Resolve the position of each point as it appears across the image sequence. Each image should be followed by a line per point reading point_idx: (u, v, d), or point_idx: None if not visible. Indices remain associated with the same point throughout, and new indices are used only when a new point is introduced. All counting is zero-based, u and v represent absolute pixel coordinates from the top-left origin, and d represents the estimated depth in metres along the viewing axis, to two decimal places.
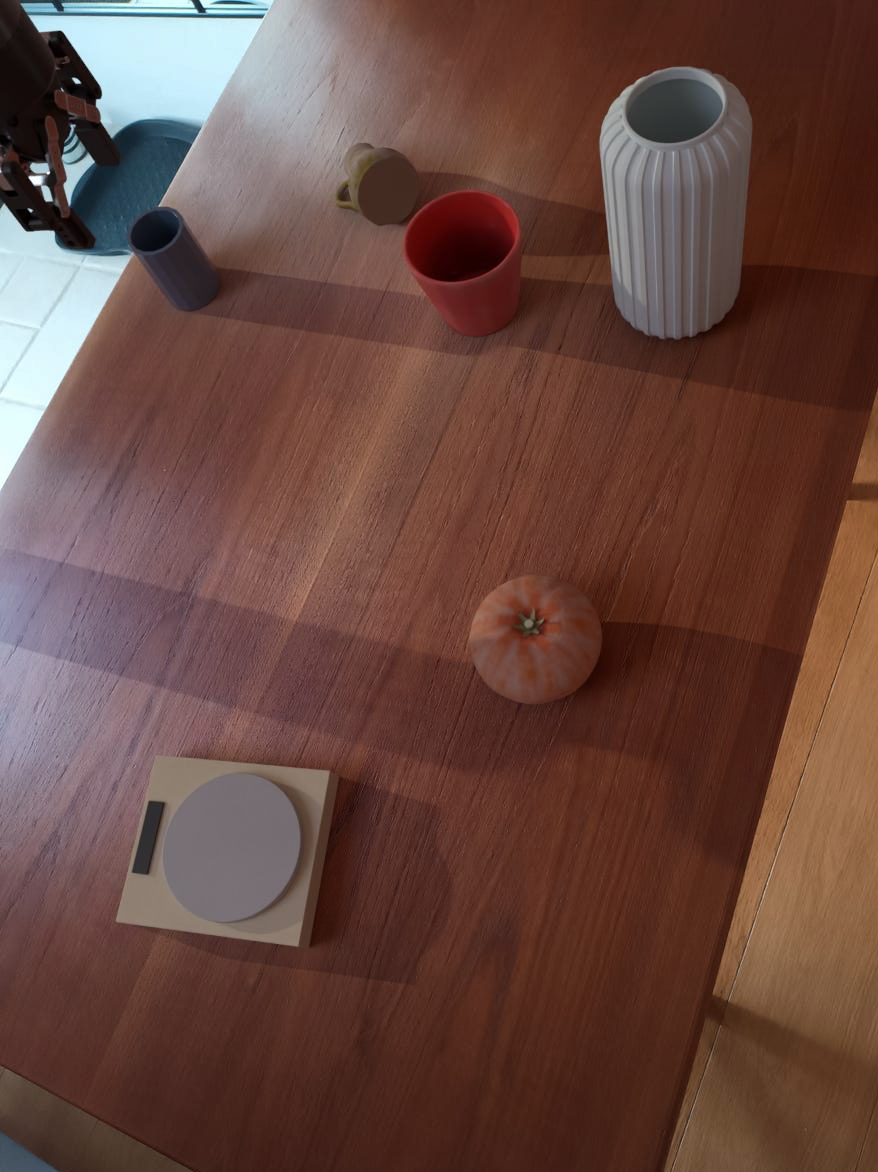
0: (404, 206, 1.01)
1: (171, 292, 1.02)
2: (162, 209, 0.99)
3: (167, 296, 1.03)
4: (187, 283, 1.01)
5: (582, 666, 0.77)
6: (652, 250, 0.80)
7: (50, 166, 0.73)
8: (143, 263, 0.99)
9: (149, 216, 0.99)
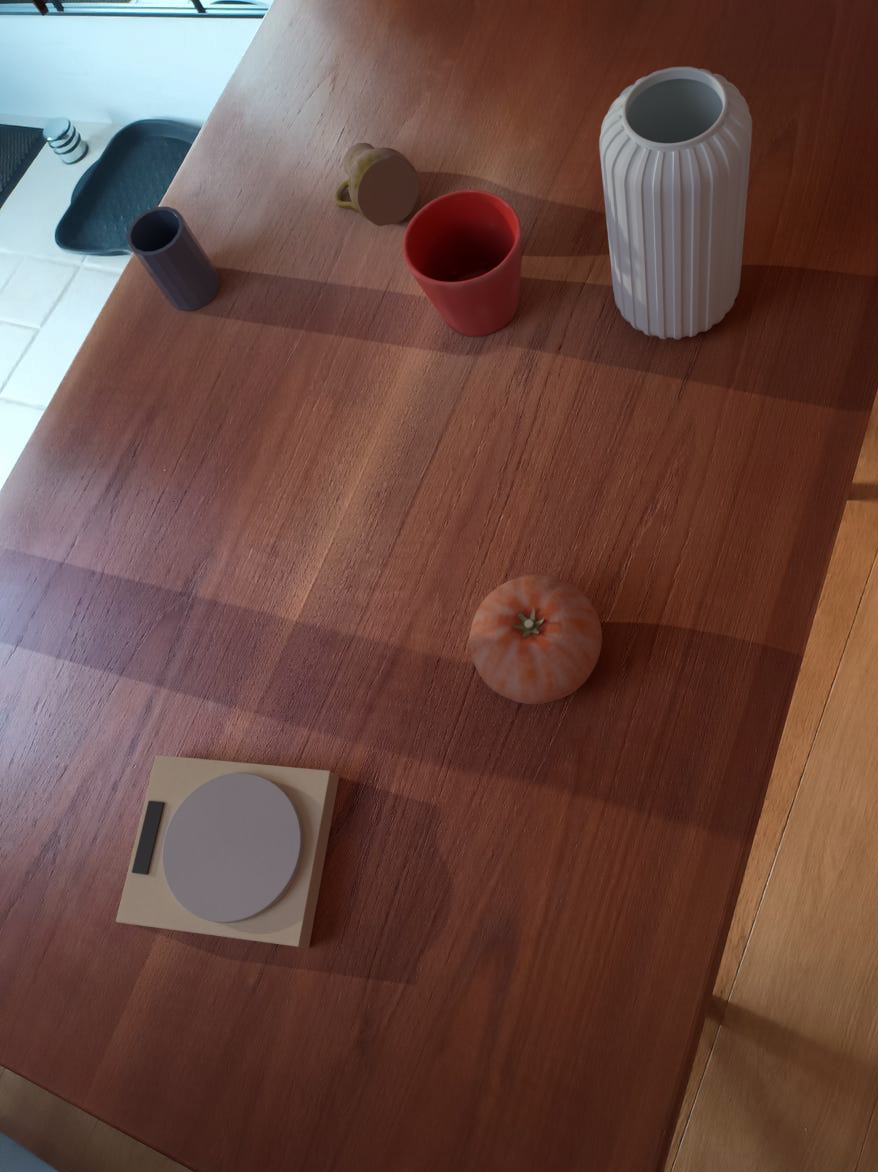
0: (404, 206, 1.01)
1: (171, 292, 1.02)
2: (162, 209, 0.99)
3: (167, 296, 1.03)
4: (187, 283, 1.01)
5: (582, 666, 0.77)
6: (652, 250, 0.80)
7: None
8: (143, 263, 0.99)
9: (149, 216, 0.99)
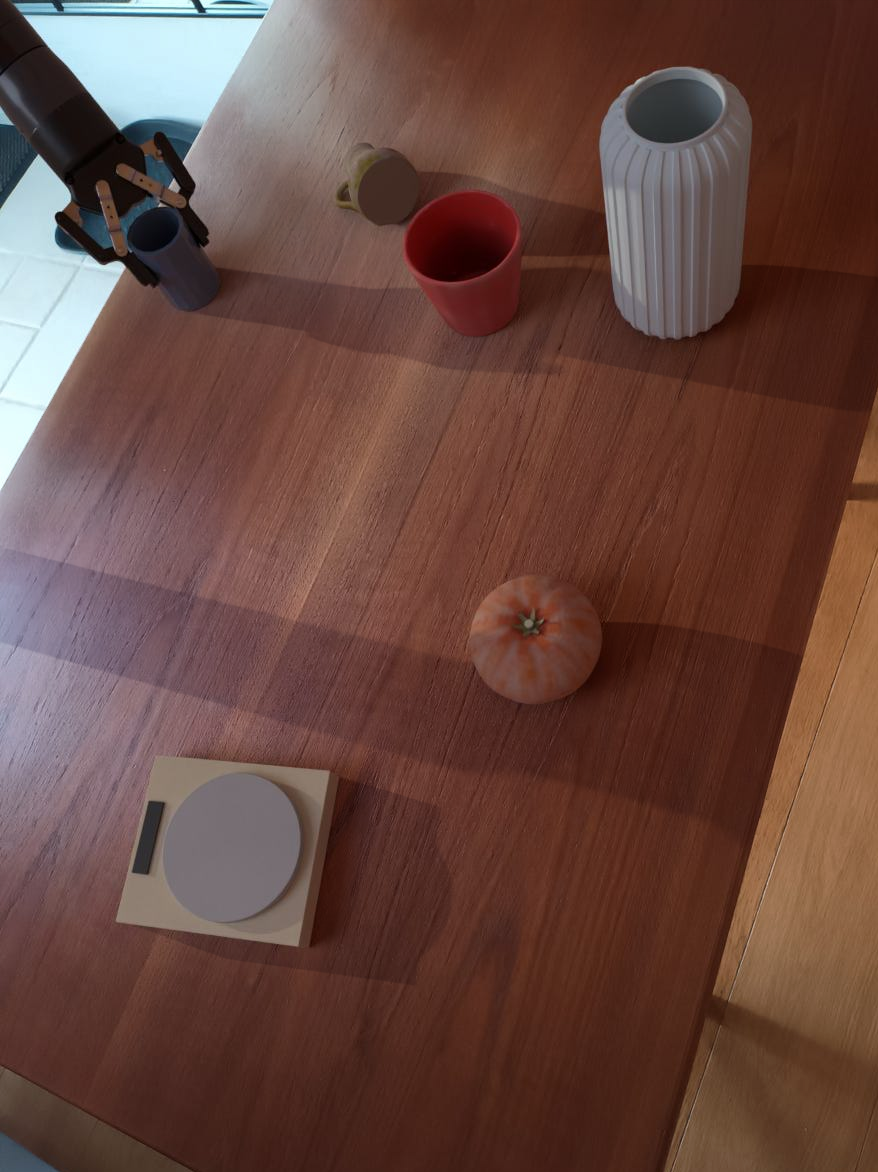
0: (404, 206, 1.01)
1: (171, 292, 1.02)
2: (162, 209, 0.99)
3: (167, 296, 1.03)
4: (187, 283, 1.01)
5: (582, 666, 0.77)
6: (652, 250, 0.80)
7: (151, 185, 0.99)
8: (143, 263, 0.99)
9: (149, 216, 0.99)
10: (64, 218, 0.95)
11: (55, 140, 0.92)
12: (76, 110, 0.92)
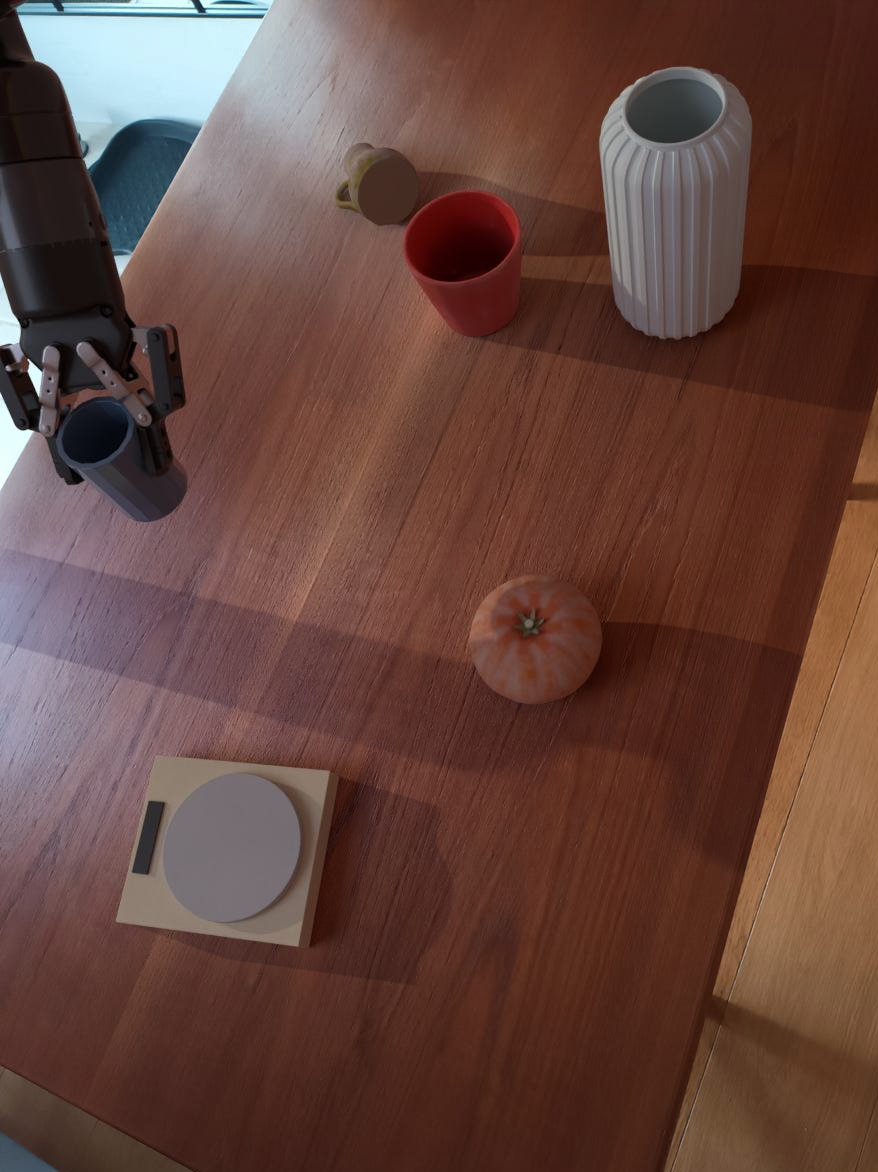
0: (404, 206, 1.01)
1: None
2: (124, 409, 0.71)
3: None
4: (115, 500, 0.75)
5: (582, 666, 0.77)
6: (652, 250, 0.80)
7: (137, 370, 0.72)
8: None
9: (111, 404, 0.72)
10: None
11: (8, 280, 0.65)
12: (46, 262, 0.64)
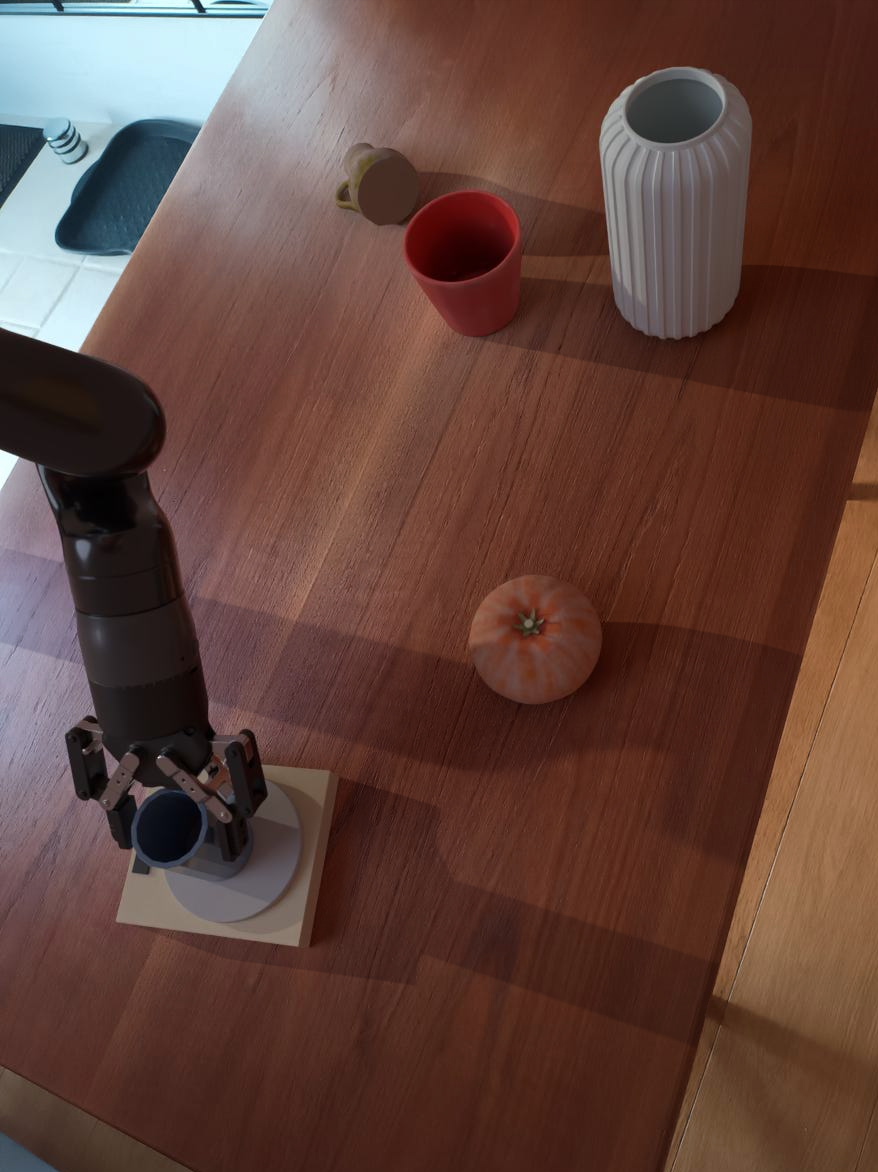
0: (404, 206, 1.01)
1: None
2: (200, 807, 0.72)
3: None
4: (181, 874, 0.76)
5: (582, 666, 0.77)
6: (652, 250, 0.80)
7: (217, 762, 0.72)
8: None
9: (188, 795, 0.73)
10: (74, 742, 0.71)
11: (97, 703, 0.66)
12: (136, 700, 0.65)
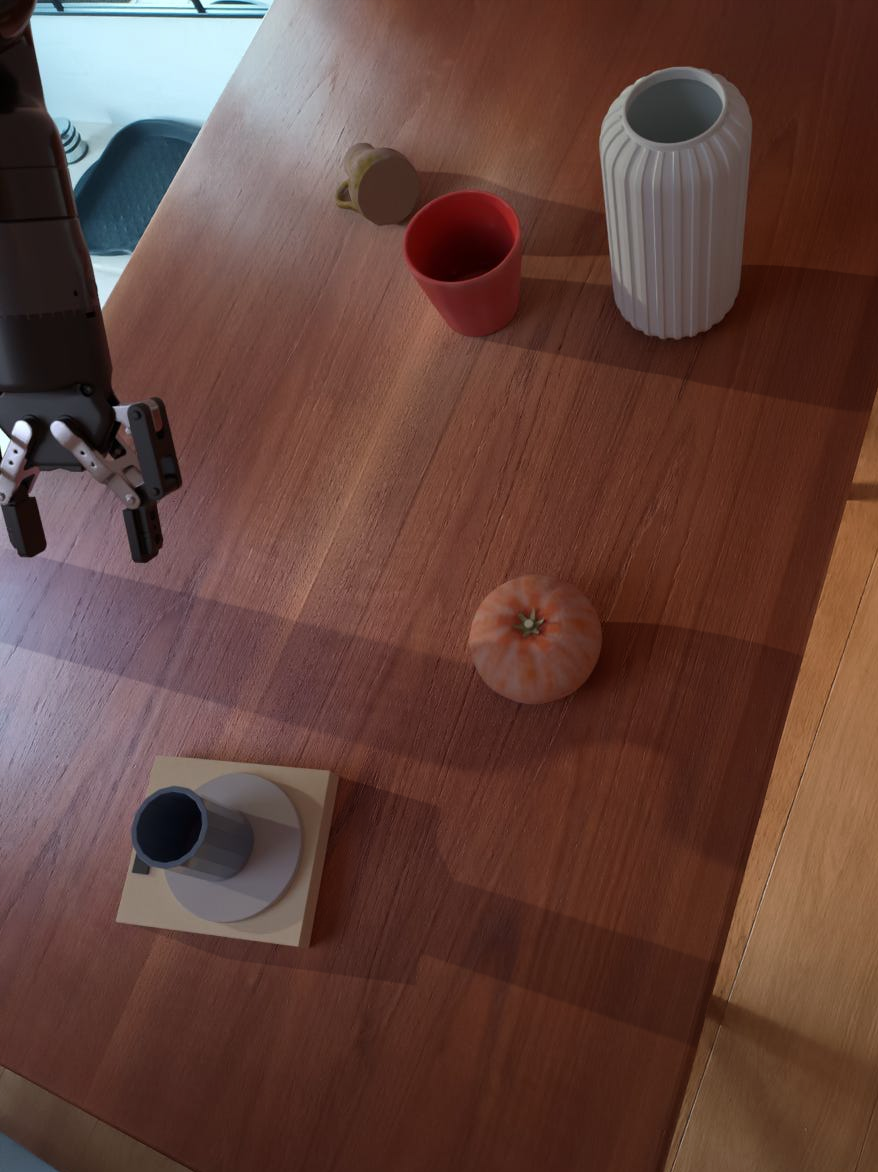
0: (404, 206, 1.01)
1: None
2: (200, 807, 0.72)
3: None
4: (181, 874, 0.76)
5: (582, 666, 0.77)
6: (652, 250, 0.80)
7: (124, 445, 0.63)
8: None
9: (188, 795, 0.73)
10: None
11: None
12: (20, 334, 0.56)
